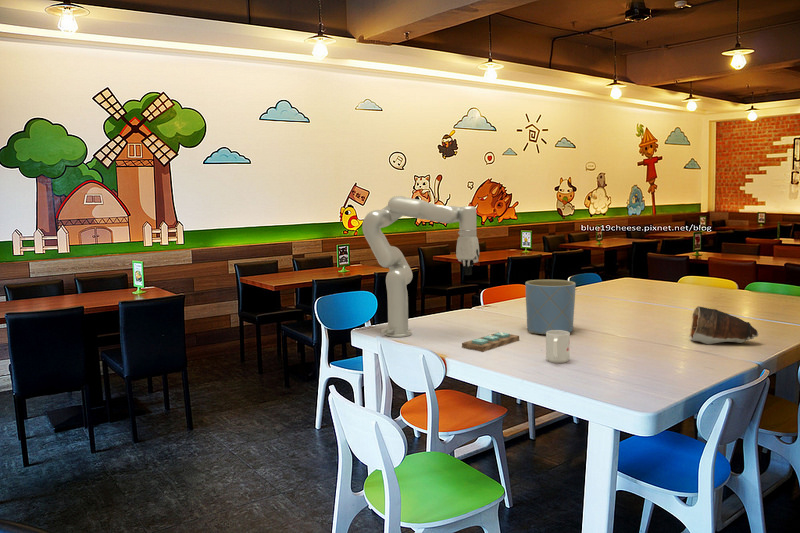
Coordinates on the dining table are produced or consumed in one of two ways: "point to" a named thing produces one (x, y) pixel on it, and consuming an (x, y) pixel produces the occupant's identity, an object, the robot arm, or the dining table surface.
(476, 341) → the tile one
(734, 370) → the dining table surface
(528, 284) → the planter
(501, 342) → the board
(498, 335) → the tile three
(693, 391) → the dining table surface
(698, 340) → the brown wedge
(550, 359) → the mug
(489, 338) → the tile two
